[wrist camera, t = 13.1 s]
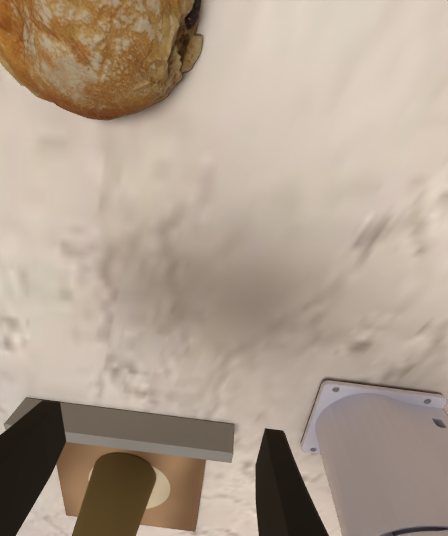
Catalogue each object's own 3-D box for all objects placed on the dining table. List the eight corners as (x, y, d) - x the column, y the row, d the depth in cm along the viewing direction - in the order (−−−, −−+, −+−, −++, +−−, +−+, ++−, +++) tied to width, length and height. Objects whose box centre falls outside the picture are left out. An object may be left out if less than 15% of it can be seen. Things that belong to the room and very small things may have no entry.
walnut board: (208, 441, 26) (207, 447, 25) (196, 526, 31) (195, 532, 31) (52, 421, 26) (48, 427, 25) (68, 509, 31) (65, 516, 31)
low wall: (234, 424, 25) (233, 453, 22) (232, 433, 25) (231, 462, 23) (25, 397, 25) (3, 424, 22) (28, 407, 25) (6, 434, 23)
